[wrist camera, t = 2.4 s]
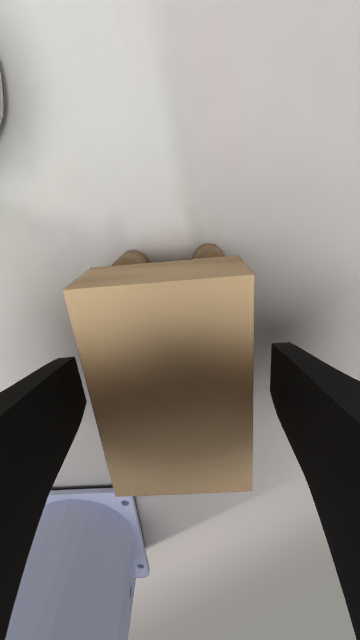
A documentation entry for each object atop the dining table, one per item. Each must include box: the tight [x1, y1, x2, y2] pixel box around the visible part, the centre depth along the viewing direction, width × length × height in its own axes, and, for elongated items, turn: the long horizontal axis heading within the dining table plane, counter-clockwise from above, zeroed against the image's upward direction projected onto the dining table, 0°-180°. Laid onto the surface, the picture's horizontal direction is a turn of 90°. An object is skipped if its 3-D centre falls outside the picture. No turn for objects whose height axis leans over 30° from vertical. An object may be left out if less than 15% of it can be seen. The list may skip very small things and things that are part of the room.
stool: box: [62, 244, 254, 497], centre depth 12 cm, size 8×5×6 cm, turn 5°
